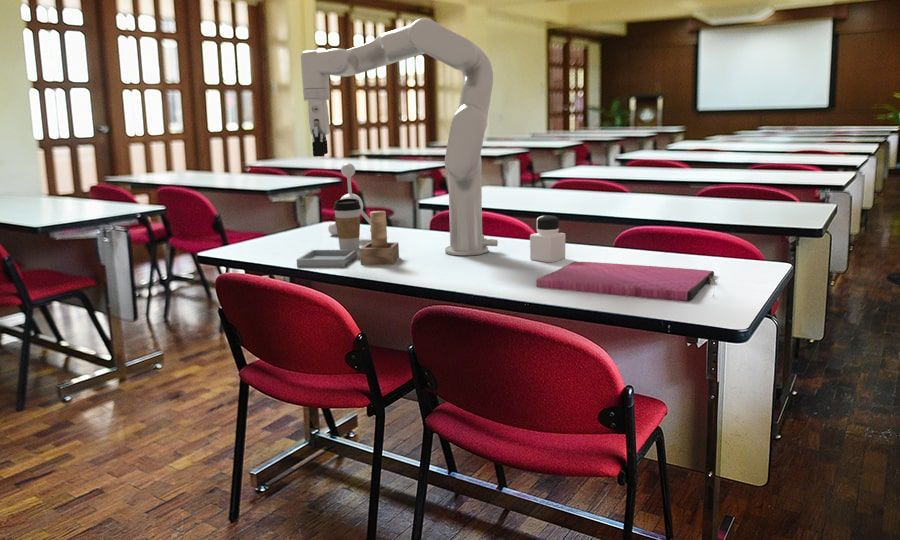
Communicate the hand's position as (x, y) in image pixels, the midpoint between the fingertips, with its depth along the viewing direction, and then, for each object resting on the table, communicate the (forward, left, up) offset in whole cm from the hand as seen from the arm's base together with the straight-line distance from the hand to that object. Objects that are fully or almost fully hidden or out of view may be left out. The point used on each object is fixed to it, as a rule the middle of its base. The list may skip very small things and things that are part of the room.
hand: (320, 155), depth 226 cm
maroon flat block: (-87, +34, -30) cm, 98 cm away
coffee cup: (-5, -7, -30) cm, 31 cm away
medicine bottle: (-66, +8, -30) cm, 73 cm away
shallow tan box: (-19, +11, -29) cm, 37 cm away
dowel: (-19, +11, -29) cm, 37 cm away
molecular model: (-1, -24, -30) cm, 38 cm away
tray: (-4, +12, -29) cm, 32 cm away
